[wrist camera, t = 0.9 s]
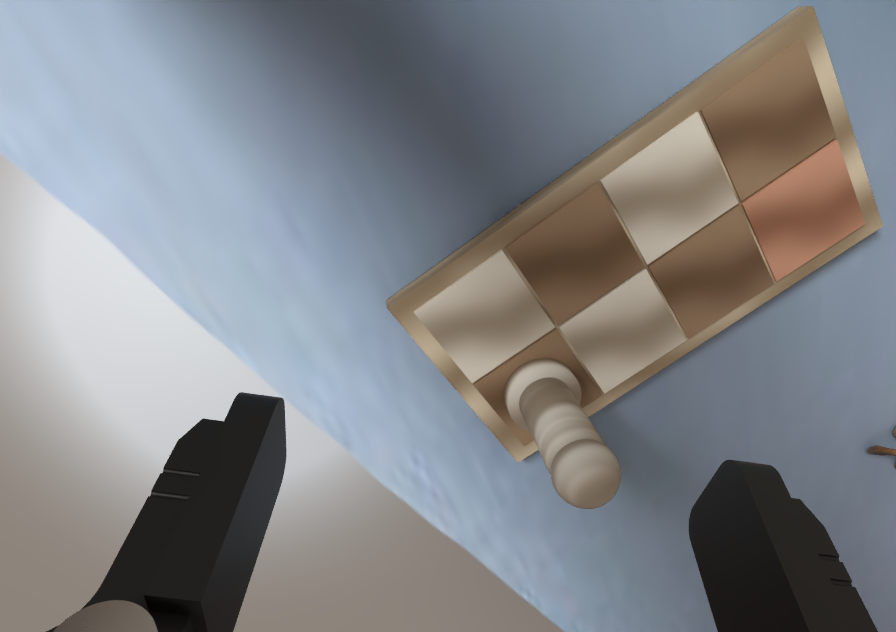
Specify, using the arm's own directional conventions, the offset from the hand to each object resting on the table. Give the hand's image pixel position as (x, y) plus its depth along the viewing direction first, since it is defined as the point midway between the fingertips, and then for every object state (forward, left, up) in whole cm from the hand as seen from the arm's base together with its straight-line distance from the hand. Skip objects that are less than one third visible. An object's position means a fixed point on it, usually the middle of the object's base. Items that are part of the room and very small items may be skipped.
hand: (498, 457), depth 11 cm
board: (+13, +9, -24) cm, 29 cm away
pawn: (+16, -1, -23) cm, 28 cm away
